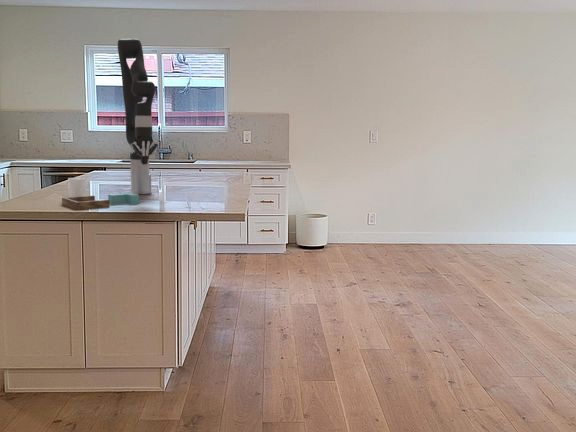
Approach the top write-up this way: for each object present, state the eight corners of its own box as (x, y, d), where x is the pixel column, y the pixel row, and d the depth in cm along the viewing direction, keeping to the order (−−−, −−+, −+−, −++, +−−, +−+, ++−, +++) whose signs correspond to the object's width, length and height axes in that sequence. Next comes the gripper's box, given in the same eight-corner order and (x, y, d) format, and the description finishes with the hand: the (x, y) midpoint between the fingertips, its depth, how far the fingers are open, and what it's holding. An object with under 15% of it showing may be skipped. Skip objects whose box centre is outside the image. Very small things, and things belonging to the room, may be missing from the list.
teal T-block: (127, 200, 284) (127, 191, 284) (139, 203, 275) (139, 194, 274) (104, 202, 277) (104, 193, 277) (115, 205, 268) (115, 196, 268)
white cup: (90, 199, 285) (89, 178, 283) (79, 201, 278) (78, 179, 276) (76, 198, 288) (75, 177, 286) (64, 200, 280) (64, 178, 279)
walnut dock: (93, 202, 277) (93, 195, 276) (109, 206, 264) (109, 200, 263) (62, 204, 268) (61, 197, 268) (76, 209, 255) (76, 202, 254)
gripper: (153, 126, 285) (153, 163, 288) (126, 125, 277) (127, 164, 279) (160, 126, 279) (161, 164, 282) (133, 126, 271) (134, 165, 274)
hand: (144, 164), depth 281 cm, fingers closed
